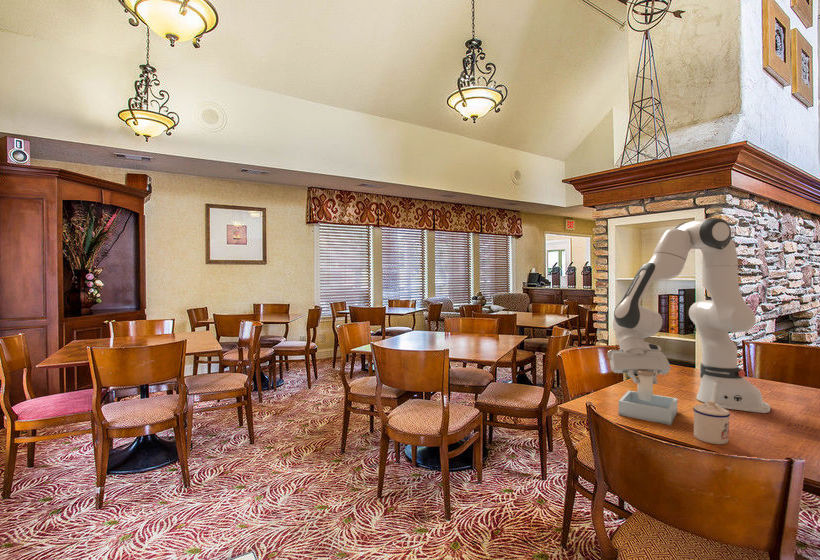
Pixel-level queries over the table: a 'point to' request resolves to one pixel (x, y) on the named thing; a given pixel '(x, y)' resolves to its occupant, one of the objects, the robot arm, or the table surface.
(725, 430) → the teacup with lid
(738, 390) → the robot arm
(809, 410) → the table surface
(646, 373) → the dressing jar
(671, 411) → the serving bin
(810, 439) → the table surface
